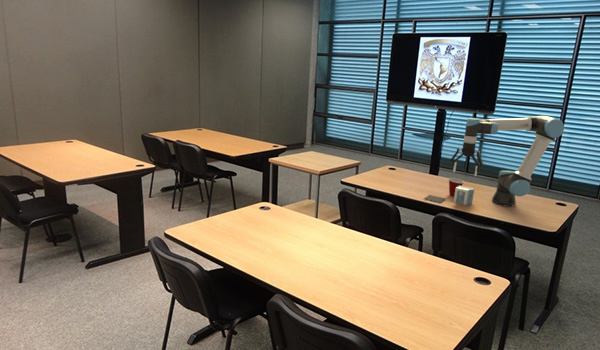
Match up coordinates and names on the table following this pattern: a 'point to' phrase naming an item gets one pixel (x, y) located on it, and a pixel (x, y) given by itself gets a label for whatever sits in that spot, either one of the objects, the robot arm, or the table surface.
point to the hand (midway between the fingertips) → (464, 174)
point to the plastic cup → (454, 185)
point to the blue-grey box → (462, 196)
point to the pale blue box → (462, 191)
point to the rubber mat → (435, 198)
